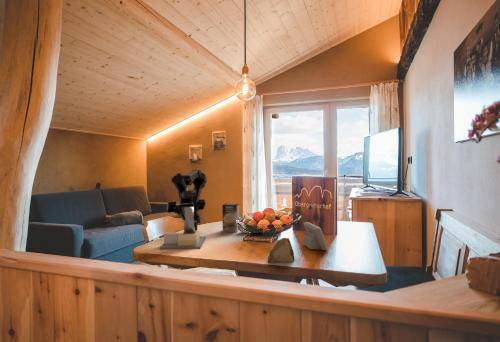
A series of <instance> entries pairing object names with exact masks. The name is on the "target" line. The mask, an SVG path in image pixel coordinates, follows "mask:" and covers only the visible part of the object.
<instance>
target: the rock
mask: <svg viewBox="0 0 500 342" xmlns="http://www.w3.org/2000/svg"><path fill="white" fill-rule="evenodd" d="M295 260H296V259H295V254H294V249H293V246H292V243H291V241H290V238H289V237H283V238H280V239H279V240H276V243H275V244H274V246H273V248H271V249H270V251H269V254H268V257H267V262H268V263H291V262H294V261H295Z"/></svg>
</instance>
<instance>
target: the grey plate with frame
mask: <svg viewBox="0 0 500 342" xmlns="http://www.w3.org/2000/svg"><path fill="white" fill-rule="evenodd" d="M200 233H201V232H200V230H197V231H195V228H194V233H188V234H187V233H184V230H181V231H180V232H164V234H163V235H164V236H163V238H164V242H163V244H162V245H160V246H159V250H187V249H188V250H191V249H194V250H195V249H196V250H198V249H201V248H202V246H203V244H204V243H205V241H206V239H207V236H206V235H205V236H201V234H200Z"/></svg>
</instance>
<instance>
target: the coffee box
mask: <svg viewBox="0 0 500 342" xmlns="http://www.w3.org/2000/svg"><path fill="white" fill-rule="evenodd" d="M238 218H239V219H240V203H233V202H232V203H228V202H227V203H222V232H223V233H224V232H228V233H237V232H240V230H239V228H238V224H237V223H236V220H237V219H238Z"/></svg>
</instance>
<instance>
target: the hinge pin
mask: <svg viewBox="0 0 500 342" xmlns="http://www.w3.org/2000/svg"><path fill="white" fill-rule="evenodd" d="M182 211H183V213H184V219H185V220H184V221H183V231H184V233H187V234H188V233H194V206H186V207H183V208H182Z"/></svg>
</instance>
